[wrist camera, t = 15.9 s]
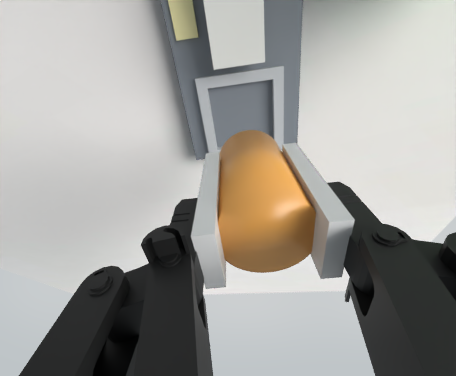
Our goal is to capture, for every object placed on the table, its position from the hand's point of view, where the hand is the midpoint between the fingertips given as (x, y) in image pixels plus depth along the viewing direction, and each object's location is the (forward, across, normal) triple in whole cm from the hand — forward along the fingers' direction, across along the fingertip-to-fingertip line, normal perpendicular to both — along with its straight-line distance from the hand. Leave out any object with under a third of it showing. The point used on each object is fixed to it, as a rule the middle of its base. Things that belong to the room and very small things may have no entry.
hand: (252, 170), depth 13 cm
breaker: (+10, 0, +9) cm, 14 cm away
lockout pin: (+2, 0, 0) cm, 2 cm away
